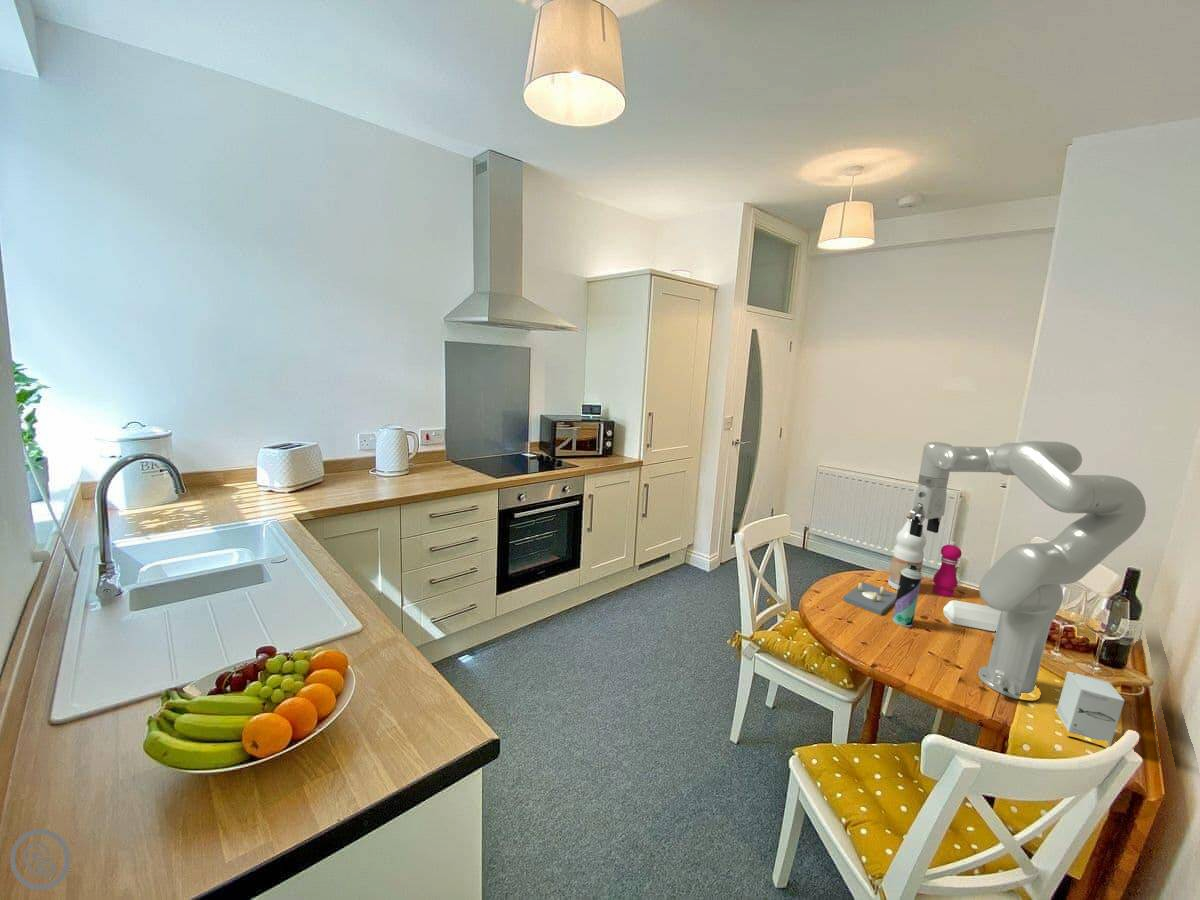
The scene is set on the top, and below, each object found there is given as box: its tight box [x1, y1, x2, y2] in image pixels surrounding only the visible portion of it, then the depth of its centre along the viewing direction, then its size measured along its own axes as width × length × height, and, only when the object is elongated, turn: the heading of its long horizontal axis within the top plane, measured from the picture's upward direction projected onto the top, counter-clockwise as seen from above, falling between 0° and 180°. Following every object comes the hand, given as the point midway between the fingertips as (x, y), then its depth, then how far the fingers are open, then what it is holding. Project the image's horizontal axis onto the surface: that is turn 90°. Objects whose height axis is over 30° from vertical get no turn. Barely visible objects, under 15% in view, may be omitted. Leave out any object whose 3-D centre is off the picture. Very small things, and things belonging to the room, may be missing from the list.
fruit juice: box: [887, 513, 927, 591], centre depth 173 cm, size 9×9×28 cm
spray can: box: [892, 564, 923, 628], centre depth 150 cm, size 6×6×20 cm
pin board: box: [842, 581, 897, 616], centre depth 165 cm, size 18×12×4 cm, turn 132°
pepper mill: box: [932, 541, 962, 598], centre depth 172 cm, size 7×7×20 cm
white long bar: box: [942, 599, 1002, 633], centre depth 151 cm, size 7×7×24 cm
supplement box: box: [1055, 670, 1125, 749], centre depth 107 cm, size 7×7×13 cm
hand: (923, 533), depth 151 cm, fingers open, 9 cm apart
